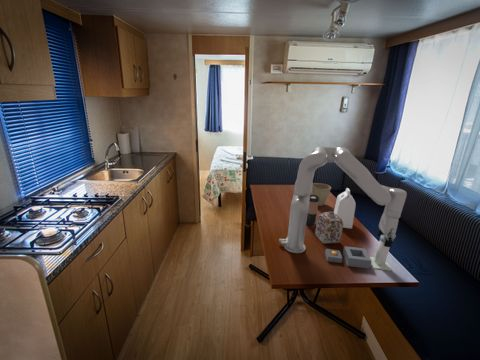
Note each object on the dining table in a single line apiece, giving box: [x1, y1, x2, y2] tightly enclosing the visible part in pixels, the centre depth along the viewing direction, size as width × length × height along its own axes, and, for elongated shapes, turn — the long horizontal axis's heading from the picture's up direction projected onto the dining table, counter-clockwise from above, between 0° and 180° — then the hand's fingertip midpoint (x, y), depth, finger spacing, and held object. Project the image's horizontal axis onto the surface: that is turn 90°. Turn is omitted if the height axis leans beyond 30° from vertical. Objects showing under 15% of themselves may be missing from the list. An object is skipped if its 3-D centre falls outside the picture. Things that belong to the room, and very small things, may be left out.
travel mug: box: [306, 194, 319, 226], centre depth 181 cm, size 8×8×20 cm
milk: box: [333, 187, 357, 229], centre depth 182 cm, size 12×12×26 cm
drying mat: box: [369, 256, 393, 272], centre depth 142 cm, size 9×10×1 cm
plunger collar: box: [324, 248, 344, 264], centre depth 145 cm, size 8×8×3 cm
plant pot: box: [311, 182, 332, 207], centre depth 215 cm, size 15×15×16 cm
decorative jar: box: [314, 211, 343, 245], centre depth 162 cm, size 12×12×18 cm
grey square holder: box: [342, 245, 372, 269], centre depth 143 cm, size 11×11×5 cm
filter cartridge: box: [374, 235, 391, 266], centre depth 139 cm, size 5×5×16 cm
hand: (383, 241), depth 138 cm, fingers open, 9 cm apart
